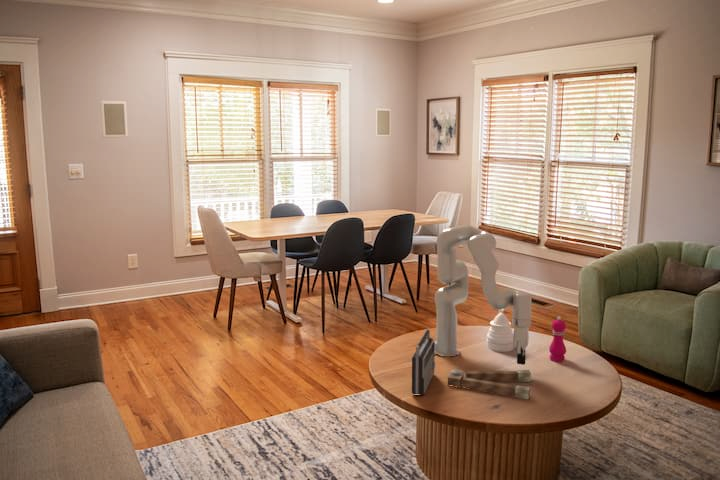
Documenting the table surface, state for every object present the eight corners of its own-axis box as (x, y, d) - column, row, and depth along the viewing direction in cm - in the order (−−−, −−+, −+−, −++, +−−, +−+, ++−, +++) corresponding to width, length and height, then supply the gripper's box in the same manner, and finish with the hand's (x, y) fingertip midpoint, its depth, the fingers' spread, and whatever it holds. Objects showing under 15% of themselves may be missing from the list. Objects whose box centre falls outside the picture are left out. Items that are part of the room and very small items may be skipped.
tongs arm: (466, 381, 248) (467, 373, 247) (465, 378, 251) (465, 370, 250) (530, 381, 248) (530, 372, 247) (528, 378, 250) (529, 370, 250)
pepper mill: (563, 356, 275) (565, 314, 272) (567, 362, 268) (569, 319, 265) (547, 356, 276) (549, 314, 272) (550, 362, 269) (552, 319, 265)
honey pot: (485, 341, 296) (486, 306, 293) (512, 342, 294) (513, 307, 291) (487, 351, 284) (488, 314, 281) (515, 352, 282) (516, 314, 279)
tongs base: (446, 385, 246) (446, 376, 245) (452, 377, 253) (452, 368, 252) (528, 399, 232) (528, 389, 231) (531, 391, 239) (532, 382, 238)
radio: (425, 397, 235) (425, 348, 231) (411, 395, 236) (412, 347, 233) (436, 373, 258) (436, 328, 254) (423, 372, 259) (424, 327, 256)
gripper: (516, 316, 260) (515, 356, 263) (508, 325, 247) (508, 368, 250) (534, 317, 257) (533, 359, 260) (527, 327, 244) (526, 371, 246)
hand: (521, 363), depth 255 cm, fingers closed
